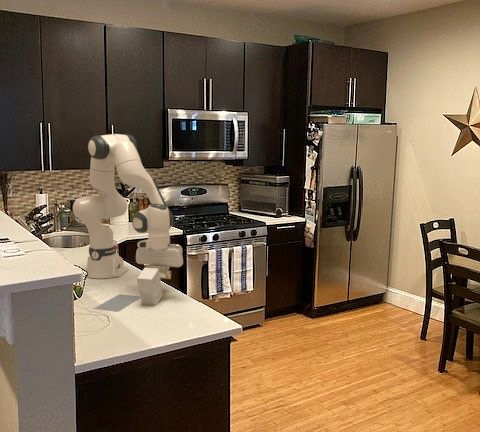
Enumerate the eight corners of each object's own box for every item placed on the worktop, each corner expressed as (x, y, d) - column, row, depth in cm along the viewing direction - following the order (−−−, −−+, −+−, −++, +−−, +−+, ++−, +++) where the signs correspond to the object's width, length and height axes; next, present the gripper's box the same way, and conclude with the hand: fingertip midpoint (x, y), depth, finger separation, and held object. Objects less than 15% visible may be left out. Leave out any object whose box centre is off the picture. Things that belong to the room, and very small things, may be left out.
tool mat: (119, 295, 223) (119, 294, 223) (142, 298, 220) (142, 296, 220) (93, 310, 204) (93, 308, 204) (118, 313, 201) (118, 311, 201)
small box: (148, 293, 218) (144, 267, 212) (163, 294, 216) (159, 268, 211) (141, 305, 211) (136, 278, 205) (156, 306, 209) (151, 279, 204)
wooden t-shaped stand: (157, 278, 229) (158, 267, 230) (177, 279, 227) (178, 269, 228) (144, 276, 214) (145, 265, 215) (164, 277, 212) (166, 266, 213)
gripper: (185, 243, 217) (185, 275, 219) (140, 240, 222) (141, 271, 224) (179, 246, 211) (179, 279, 213) (133, 242, 216) (134, 275, 218)
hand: (159, 275), depth 219 cm, fingers closed on wooden t-shaped stand, 3 cm apart
